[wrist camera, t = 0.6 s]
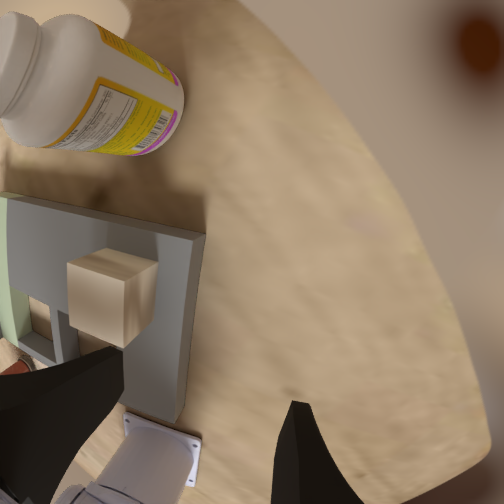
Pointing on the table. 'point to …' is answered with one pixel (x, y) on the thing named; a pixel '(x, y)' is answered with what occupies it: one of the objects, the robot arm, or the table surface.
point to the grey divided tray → (56, 293)
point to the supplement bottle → (83, 88)
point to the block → (111, 295)
